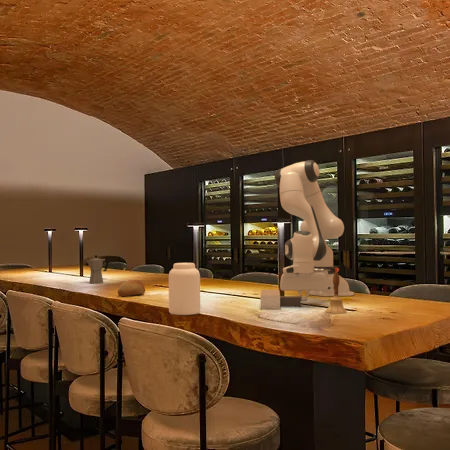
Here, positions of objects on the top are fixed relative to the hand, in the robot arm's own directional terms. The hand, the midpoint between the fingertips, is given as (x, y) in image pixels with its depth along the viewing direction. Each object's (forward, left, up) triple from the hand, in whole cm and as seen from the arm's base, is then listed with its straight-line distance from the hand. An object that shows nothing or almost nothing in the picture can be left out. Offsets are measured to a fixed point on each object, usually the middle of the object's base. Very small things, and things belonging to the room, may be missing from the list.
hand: (303, 301), depth 222 cm
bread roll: (+85, -36, -3) cm, 93 cm away
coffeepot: (+126, -102, -2) cm, 163 cm away
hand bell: (-12, +16, -3) cm, 20 cm away
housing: (+14, 0, -2) cm, 14 cm away
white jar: (+48, +20, -2) cm, 52 cm away
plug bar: (+9, 0, -2) cm, 10 cm away
